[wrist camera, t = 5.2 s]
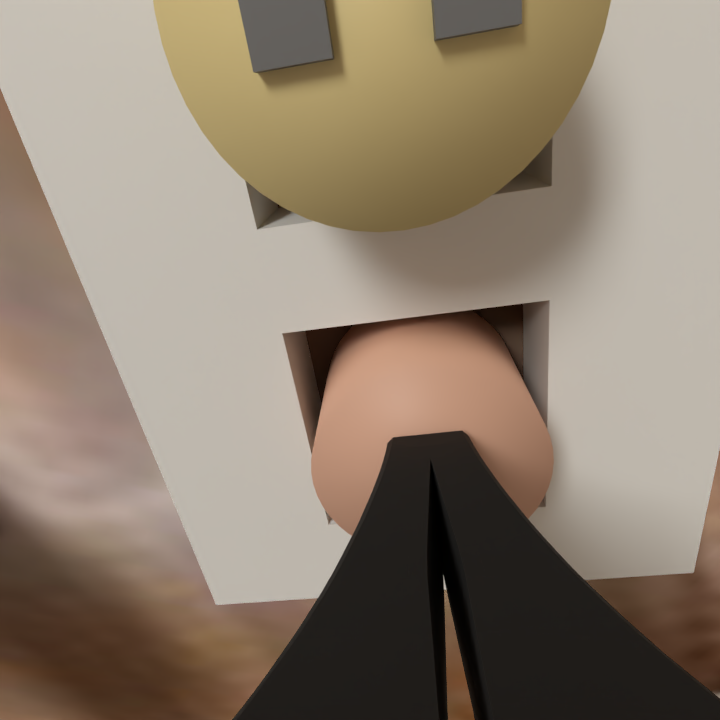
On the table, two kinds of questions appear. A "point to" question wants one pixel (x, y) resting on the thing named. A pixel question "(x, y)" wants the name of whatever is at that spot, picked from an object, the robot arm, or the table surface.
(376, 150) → the button two
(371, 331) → the button one
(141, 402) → the panel
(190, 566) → the table surface
